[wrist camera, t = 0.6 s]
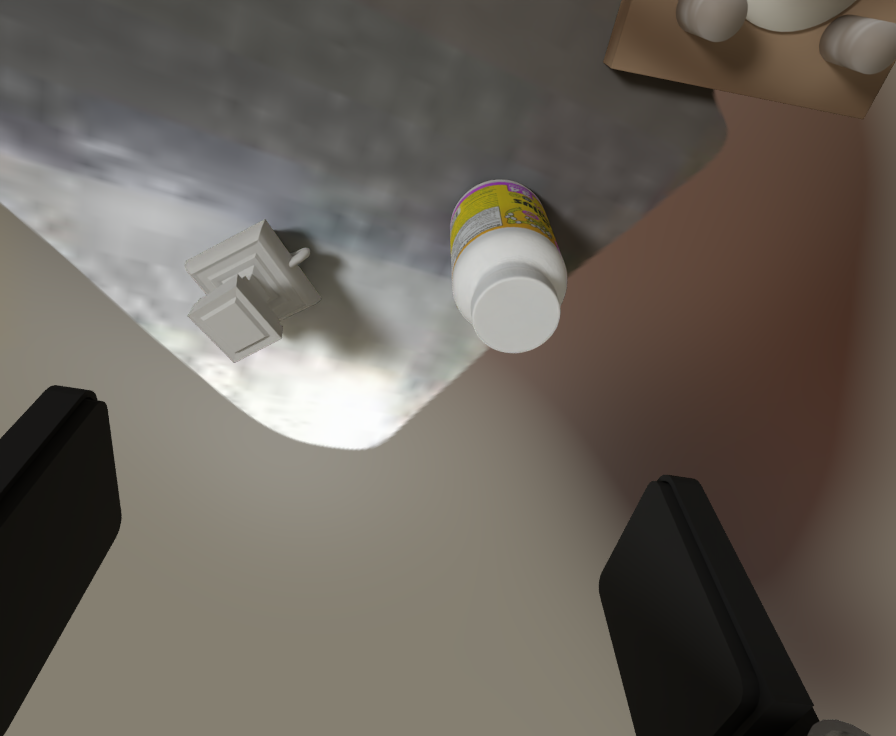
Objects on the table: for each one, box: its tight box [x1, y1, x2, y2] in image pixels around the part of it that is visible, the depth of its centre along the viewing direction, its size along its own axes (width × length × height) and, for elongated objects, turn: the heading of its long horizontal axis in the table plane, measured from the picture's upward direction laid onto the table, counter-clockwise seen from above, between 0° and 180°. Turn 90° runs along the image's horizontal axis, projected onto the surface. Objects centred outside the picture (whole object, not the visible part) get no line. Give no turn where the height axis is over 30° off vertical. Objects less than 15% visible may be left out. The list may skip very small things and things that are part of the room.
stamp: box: [184, 219, 321, 363], centre depth 40 cm, size 9×7×8 cm
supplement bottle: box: [450, 180, 567, 353], centre depth 37 cm, size 7×7×13 cm
